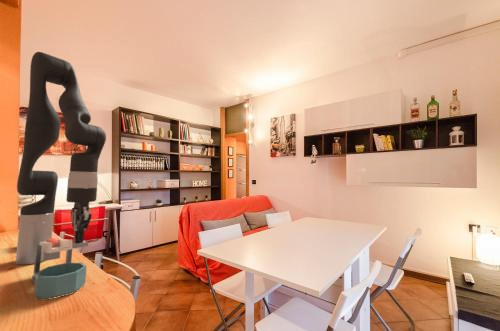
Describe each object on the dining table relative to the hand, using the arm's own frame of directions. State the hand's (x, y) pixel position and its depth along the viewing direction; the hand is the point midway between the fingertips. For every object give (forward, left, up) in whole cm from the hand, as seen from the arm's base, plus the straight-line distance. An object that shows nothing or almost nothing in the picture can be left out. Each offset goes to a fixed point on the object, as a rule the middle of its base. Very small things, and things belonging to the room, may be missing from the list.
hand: (78, 242), depth 69 cm
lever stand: (-6, -4, -11) cm, 13 cm away
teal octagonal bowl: (+5, -4, -11) cm, 13 cm away
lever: (-5, -2, -5) cm, 8 cm away
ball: (-11, -4, -1) cm, 12 cm away
